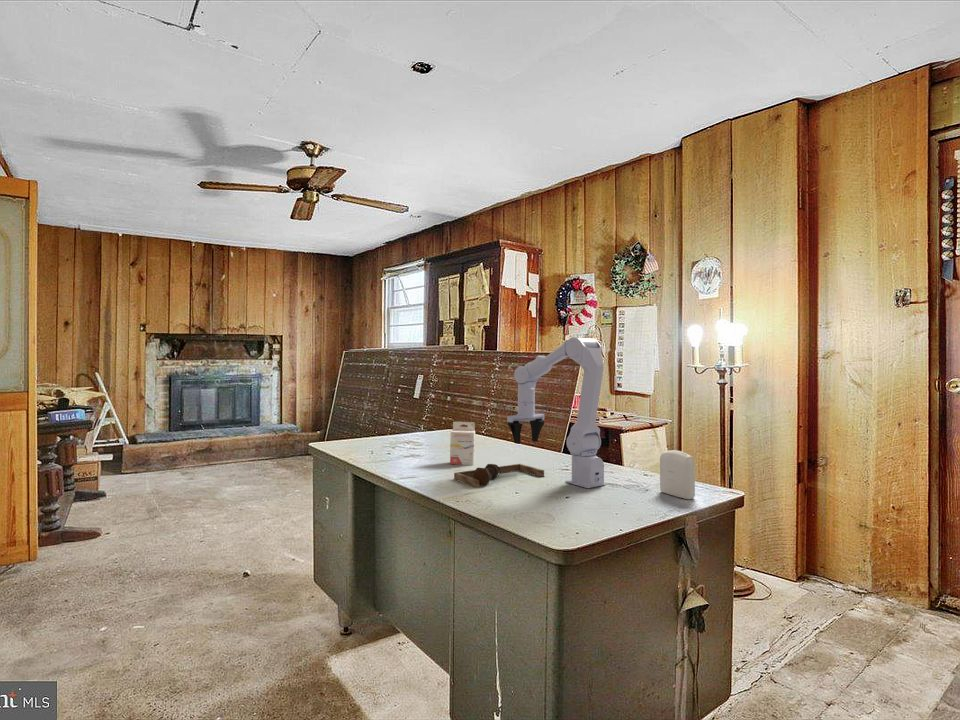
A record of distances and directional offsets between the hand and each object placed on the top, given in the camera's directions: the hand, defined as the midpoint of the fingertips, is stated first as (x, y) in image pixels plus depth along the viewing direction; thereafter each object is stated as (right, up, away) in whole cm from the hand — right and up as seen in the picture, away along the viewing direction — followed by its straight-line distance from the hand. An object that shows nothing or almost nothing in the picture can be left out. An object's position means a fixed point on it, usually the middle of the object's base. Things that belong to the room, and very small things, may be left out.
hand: (526, 442), depth 179 cm
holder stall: (-9, -9, -11) cm, 17 cm away
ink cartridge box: (-22, -10, +11) cm, 26 cm away
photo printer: (+39, -10, -31) cm, 51 cm away
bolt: (-13, -10, -14) cm, 21 cm away
